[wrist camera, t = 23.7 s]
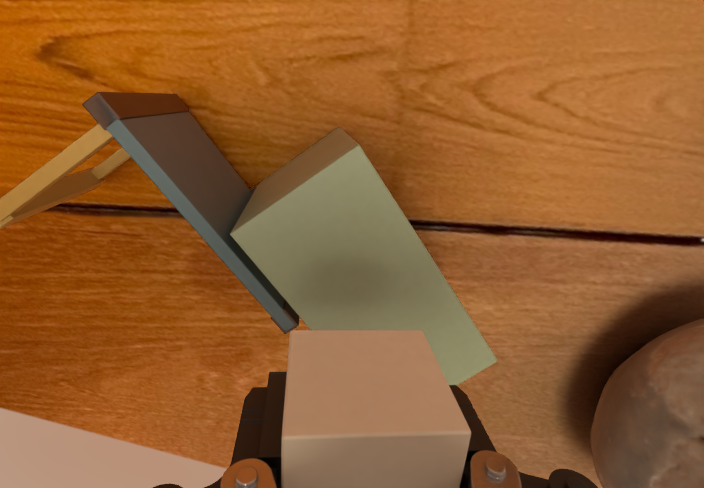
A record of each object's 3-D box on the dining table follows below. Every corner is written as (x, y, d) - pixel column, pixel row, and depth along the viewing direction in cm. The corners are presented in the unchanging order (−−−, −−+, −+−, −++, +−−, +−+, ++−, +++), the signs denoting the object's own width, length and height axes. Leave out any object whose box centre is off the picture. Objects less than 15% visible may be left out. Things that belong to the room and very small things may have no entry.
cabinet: (348, 331, 38) (366, 439, 26) (239, 196, 33) (199, 254, 21) (436, 275, 37) (498, 361, 25) (339, 126, 32) (359, 144, 20)
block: (408, 431, 16) (446, 559, 11) (288, 434, 15) (280, 570, 11) (423, 329, 14) (473, 432, 10) (290, 329, 14) (281, 437, 9)
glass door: (216, 310, 35) (176, 405, 24) (80, 166, 30) (-48, 204, 19) (301, 253, 34) (298, 325, 23) (176, 93, 29) (97, 91, 18)
